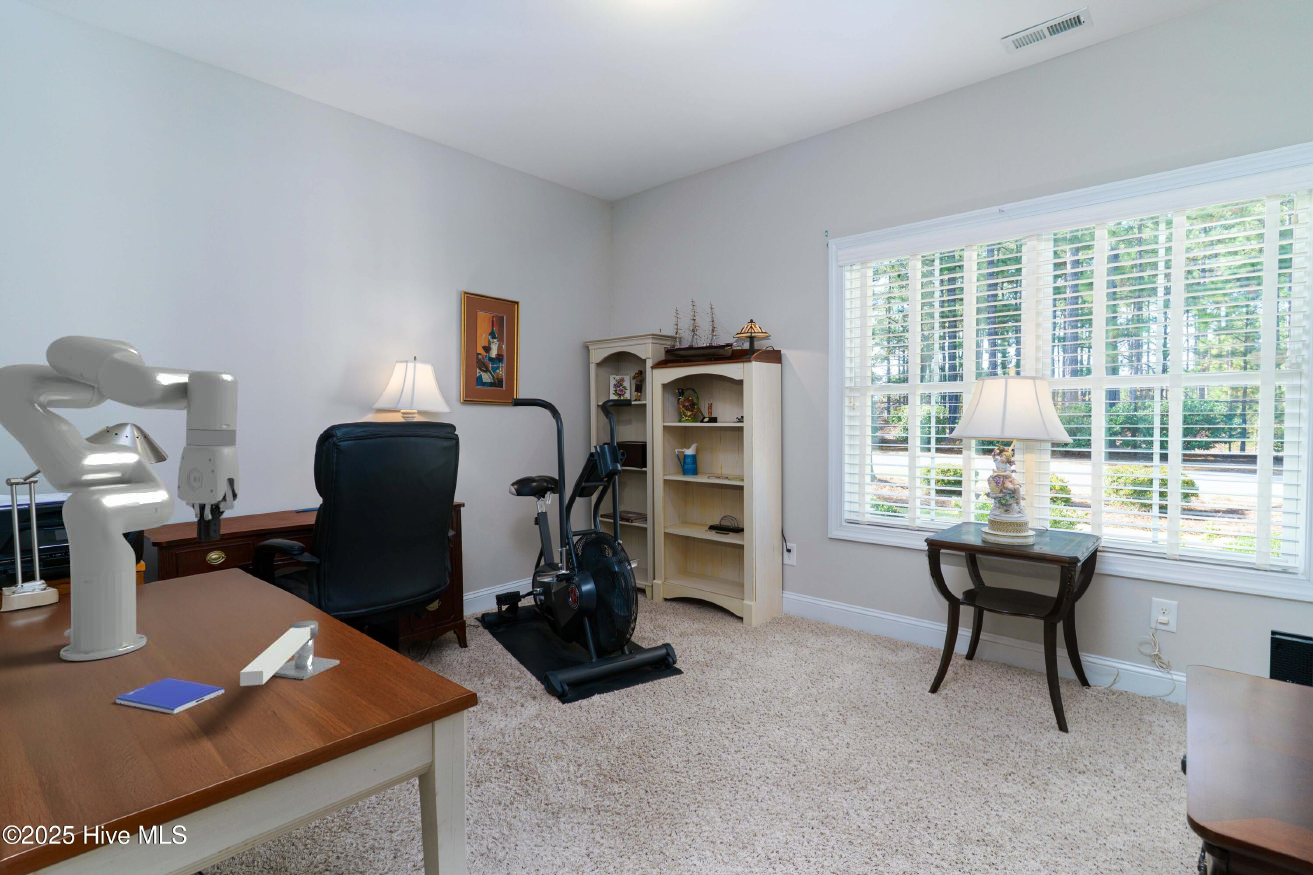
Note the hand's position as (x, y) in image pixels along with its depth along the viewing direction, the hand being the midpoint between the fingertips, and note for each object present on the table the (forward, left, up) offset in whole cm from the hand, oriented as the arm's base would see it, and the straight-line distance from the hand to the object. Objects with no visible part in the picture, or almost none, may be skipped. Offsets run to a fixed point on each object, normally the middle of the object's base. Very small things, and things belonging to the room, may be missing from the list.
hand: (208, 540), depth 117 cm
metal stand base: (+19, +3, -23) cm, 29 cm away
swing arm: (+24, -6, -16) cm, 29 cm away
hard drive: (+8, -13, -23) cm, 28 cm away
